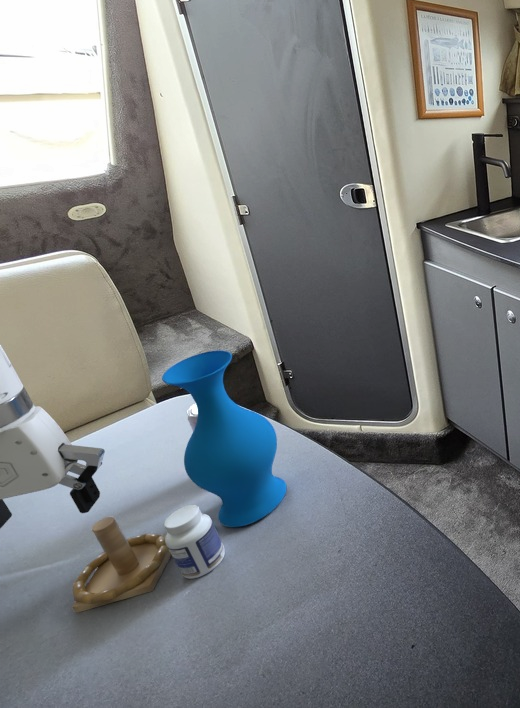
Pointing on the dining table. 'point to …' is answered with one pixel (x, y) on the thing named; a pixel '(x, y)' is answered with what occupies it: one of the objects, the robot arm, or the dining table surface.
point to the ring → (93, 598)
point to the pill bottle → (193, 541)
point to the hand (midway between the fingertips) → (47, 515)
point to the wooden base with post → (120, 564)
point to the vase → (227, 443)
